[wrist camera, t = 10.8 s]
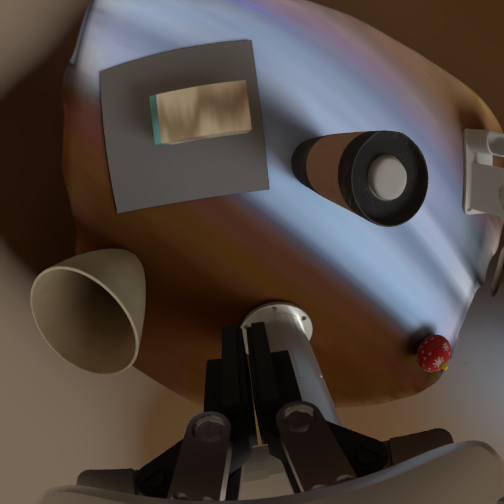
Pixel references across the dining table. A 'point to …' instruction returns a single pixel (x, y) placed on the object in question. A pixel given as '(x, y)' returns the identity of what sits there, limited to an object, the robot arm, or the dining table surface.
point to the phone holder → (483, 172)
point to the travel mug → (366, 173)
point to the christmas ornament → (433, 353)
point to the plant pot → (92, 309)
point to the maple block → (200, 113)
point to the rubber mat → (187, 153)
